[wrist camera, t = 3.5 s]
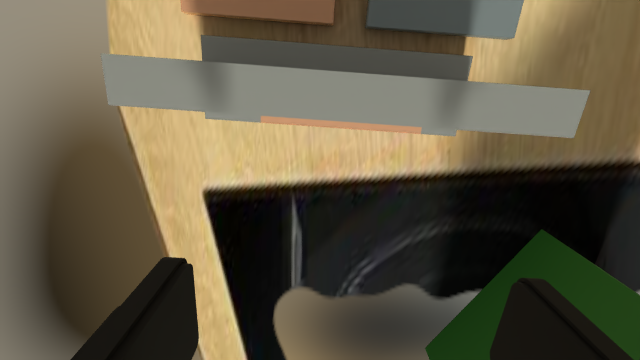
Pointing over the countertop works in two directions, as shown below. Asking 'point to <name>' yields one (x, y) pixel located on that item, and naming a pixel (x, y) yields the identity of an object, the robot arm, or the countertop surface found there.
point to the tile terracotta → (265, 10)
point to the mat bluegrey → (447, 17)
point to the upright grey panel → (339, 89)
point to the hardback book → (567, 278)
